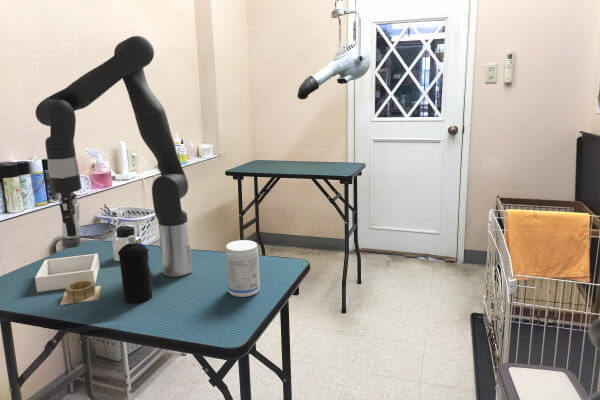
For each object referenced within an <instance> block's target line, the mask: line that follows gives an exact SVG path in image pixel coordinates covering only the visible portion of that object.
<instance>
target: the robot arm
mask: <svg viewBox="0 0 600 400" xmlns="http://www.w3.org/2000/svg"><path fill="white" fill-rule="evenodd" d="M113 52H114V53H113V56H112V57H110V58H109V59H107V60H106V61H104V62H103V63H100V64H99V65H98V66H96V67H94V68H92V69H91V70H89V71H88V72H86V73H85V74H83V75H81V76H80V77H78V78H77V79H76V80H74V81H73V82H72V83H70V84H69V85H68V86H66V87H65V88H63V89H61V90H59V91H57V92H56V93H53V94H51V95H50V96H47V97H46V98H45V99H43V100H41V102H39V104H38V105H36V109H35V117H36V119H37V121H38V122H39V123H40V124H41V125H43V126H47V127H50V129H49V130H50V131H49V132H50V133H49V134H50V135H49V136H47V138H46V139H45V150H46V151H45V152H46V158H47V169H48V170H47V172H48V176H49V184H50V189H51V192H52V193H53V194H60V198H59V201H58V202H59V205H58V206H59V207H60V209H59V210H60V213H61V220H62V219H63V223H65V224H66V229H67V235H68V236H69V237H70V236H76V228H75V219H74V215H75V214H76V210H75V204H76V201H77V202H78V197H77V194H76V193H74V192H79V191H81V189H82V182H81V175H80V169H79V168H80V167H79V163H78V160H77V154H76V148H75V147H76V146H75V135H76V125H77V124H76V122H77V121H76V119H77V118H76V113H75V112H76V111H78V110H79V111H80V110H82V109H85V108H87V107H89V106H90V105H91V104H92V103H94V102H95V101H97V100H98V99H99V98H101V96H103V95H104V94H105V93H106V92H107V91H109V89H111V88H112V87H113V86H115V85H116V84H117V83H119V82H120V81H121V80H122V81H123V83H124V85H125V88H126V92H127V94H128V98H129V101H130V104H131V107H132V110H133V113H134V118H135V121H136V124H137V128H138V131H139V134H140V137H141V139H142V141H143V142H144V144H145V146H147V147H148V149H149V151H150V152H151V153H152V154H153V157H154V158H155V159H156V160H155V161H156V162H157V165H158V168H159V172H160V175H159V176H158V177H156V178H155V179H154V180H153V182H152V185H151V195H152V204H153V205H152V206H153V211H154V214H155V217H156V218H157V222H158V223H157V224H158V232H159V243H160V252H161V263H162V264H161V265H162V266H161V267H162V274H163V275H164V276H166V277H172V278H173V277H175V278H176V277H182V276H183V277H184V276H186V275H189V274H192V273H193V265H192V253H191V252H192V251H191V244H190V236H189V223H188V214H187V212H186V211H184V210H183V209H182V204H181V199H182V198H184V197H186V195H187V194H188V191H189V182H188V179H187V176H186V174H185V171H184V169H183V165H182V164H181V161H180V158H179V156H178V152H177V150H176V146H175V142H174V140H173V136H172V135H173V134H172V133H171V132H172V131H171V128H170V124H169V121H168V116H167V113H166V111H165V109H164V106H163V105H162V103H161V102H160V100H159V99H158V98H157V96H155V94H154V93H153V91H152V90H151V88H150V87H149V84H148V82H147V79H146V75H145V71H144V68H146V67H148V66H149V65H150V64H151V63H152V61H153V59H154V56H155V49H154V46H153V45H152V43H151V42H150V40H149V39H147V38H145V37H143V36H141V35H134V36H130V37H128V38H126V39H124V40H122V41H120V42H118V43H117V45H116V46H115V48H114V51H113ZM72 206H73V211H72ZM66 216H70V218H67V217H66Z"/></svg>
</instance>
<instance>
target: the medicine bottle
mask: <svg viewBox="0 0 600 400" xmlns="http://www.w3.org/2000/svg"><path fill="white" fill-rule="evenodd" d="M115 232H116V238H117V239H116V240H114V241H112V243H111V244H112V251H113V259H114V261H116V262H120V258H119V255H118V252H119V250H120V249H121V248H122V247H123V246H125V245H126V244H128V243H129V240H128V237H129V236H131V235H134V236H136V234H135V232H136V231H135V226H134V225H132V224H131V225H130V224H124V225H120V226H118V227H116V231H115ZM136 242H137V243H141V244H142V240H141V237H140V236H136Z"/></svg>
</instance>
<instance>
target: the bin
mask: <svg viewBox="0 0 600 400" xmlns="http://www.w3.org/2000/svg"><path fill="white" fill-rule="evenodd" d="M99 260H100V259H99V254H98V253H92V254H84V255H83V254H82V255H76V256H75V255H74V256H67V257H56V258H49V259H45V260H44V261H43V263H42V265H41V266H40V268H39V270H38V272H37V273H36V275H35V277H34V280H35V288H36V292H37V293H41V292H48V291H56V290H62V289H63V290H64V289H66V287H67V285H69V284H71V283H73V282H77V281H82V280H90V281H94V283H95V284H96V282H97V276H98V273H99V270H100V268H101V267H100V261H99Z"/></svg>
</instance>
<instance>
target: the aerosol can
mask: <svg viewBox="0 0 600 400" xmlns="http://www.w3.org/2000/svg"><path fill="white" fill-rule="evenodd" d="M136 237H137V236H136V235H135V236H134V235H131V236H129V237H128V240H129V243H128V244H126V245H125V246H123V247H122V248H121V249H120V250H119V252H118V255H119V258H120V261H119V264H120V265H119V266H120V274H121V283H122V289H123V298H124V299H123V300H124V302H125V303H126V304H130V305H137V304H143V303H146V302H149V301H150V300H152V298H153V302H154V301H155V299H154V297H153V287H152V279H151V278H152V276H151V270H150V269H151V268H150V258H149V257H150V255H149V251H150V249H149V247H147V245H145V244H144V243H142V242H141V243H137V242H136Z"/></svg>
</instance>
